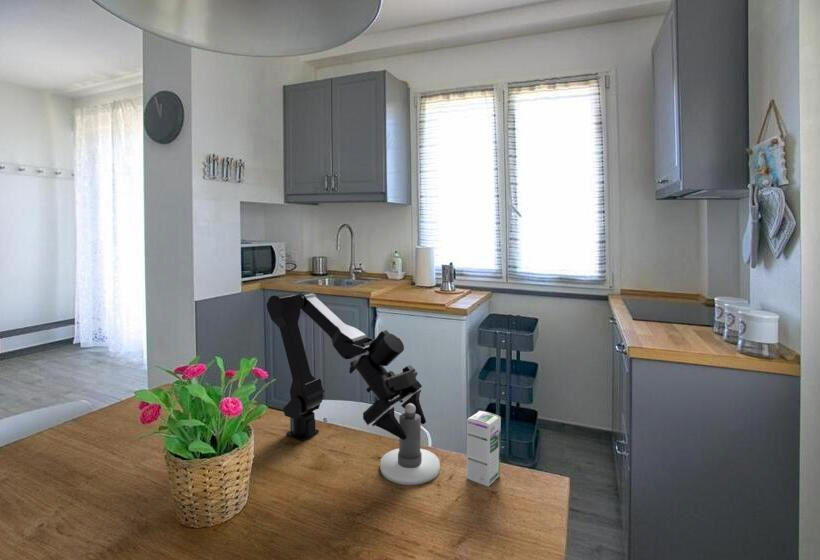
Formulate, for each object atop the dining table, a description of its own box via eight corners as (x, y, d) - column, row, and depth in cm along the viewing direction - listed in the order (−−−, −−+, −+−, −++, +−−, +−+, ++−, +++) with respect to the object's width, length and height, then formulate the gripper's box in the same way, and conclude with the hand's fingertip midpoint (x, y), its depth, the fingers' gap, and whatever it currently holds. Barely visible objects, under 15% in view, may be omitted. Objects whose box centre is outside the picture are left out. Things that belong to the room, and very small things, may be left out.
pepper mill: (398, 468, 100) (398, 408, 98) (397, 456, 105) (397, 399, 104) (422, 467, 100) (423, 408, 99) (420, 455, 106) (421, 398, 104)
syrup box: (488, 487, 95) (490, 424, 94) (465, 478, 99) (466, 417, 97) (500, 476, 100) (502, 415, 98) (477, 467, 103) (478, 409, 102)
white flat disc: (368, 472, 101) (368, 466, 101) (402, 447, 113) (402, 442, 112) (419, 492, 93) (419, 485, 93) (449, 463, 105) (450, 457, 105)
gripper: (373, 368, 94) (418, 428, 90) (415, 348, 110) (454, 399, 106) (345, 396, 99) (385, 454, 94) (389, 373, 115) (425, 422, 111)
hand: (415, 430), depth 101 cm, fingers open, 9 cm apart
